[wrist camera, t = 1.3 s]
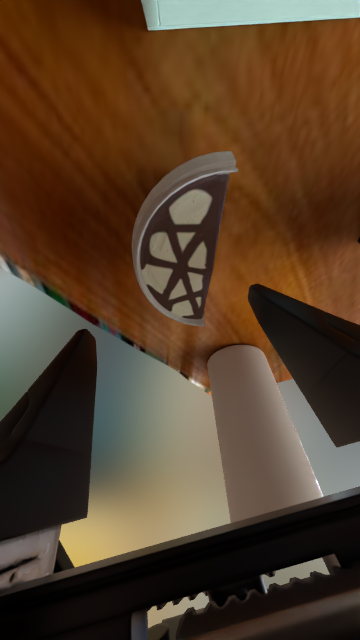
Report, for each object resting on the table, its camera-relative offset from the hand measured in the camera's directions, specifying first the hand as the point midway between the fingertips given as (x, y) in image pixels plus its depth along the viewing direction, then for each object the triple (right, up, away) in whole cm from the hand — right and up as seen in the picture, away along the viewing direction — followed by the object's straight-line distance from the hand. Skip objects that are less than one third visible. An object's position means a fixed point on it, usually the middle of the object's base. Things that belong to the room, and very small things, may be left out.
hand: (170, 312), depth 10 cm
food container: (0, +10, +10) cm, 14 cm away
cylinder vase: (+13, -9, +31) cm, 35 cm away
